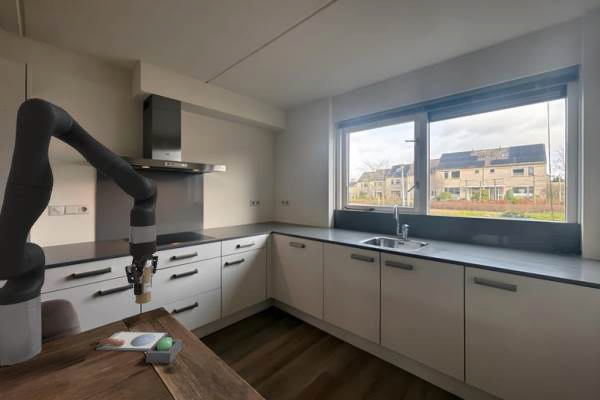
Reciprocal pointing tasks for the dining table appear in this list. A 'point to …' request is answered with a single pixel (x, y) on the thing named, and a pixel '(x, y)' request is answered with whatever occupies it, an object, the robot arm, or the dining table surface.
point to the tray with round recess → (134, 341)
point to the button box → (163, 353)
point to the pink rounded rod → (112, 341)
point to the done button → (164, 344)
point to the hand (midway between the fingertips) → (143, 291)
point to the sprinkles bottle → (145, 286)
